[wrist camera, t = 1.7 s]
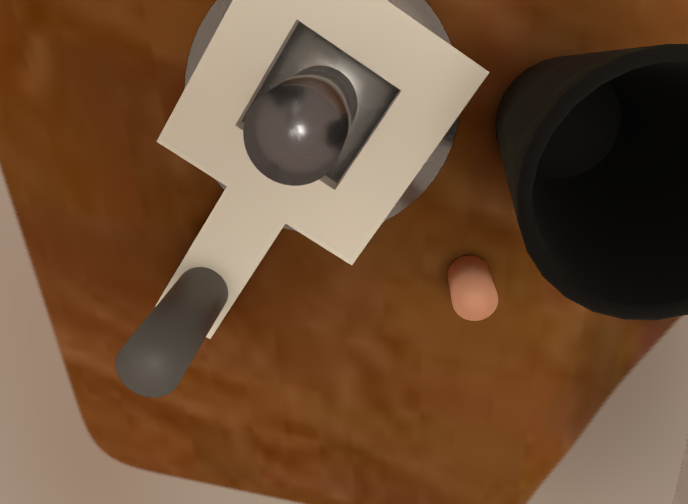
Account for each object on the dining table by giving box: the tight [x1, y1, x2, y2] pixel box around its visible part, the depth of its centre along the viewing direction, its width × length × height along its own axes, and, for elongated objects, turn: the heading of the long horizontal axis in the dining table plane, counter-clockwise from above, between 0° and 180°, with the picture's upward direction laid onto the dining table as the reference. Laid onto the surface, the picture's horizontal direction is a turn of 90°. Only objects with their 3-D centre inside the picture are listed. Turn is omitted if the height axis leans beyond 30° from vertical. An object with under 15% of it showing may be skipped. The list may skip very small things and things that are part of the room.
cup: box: [496, 44, 688, 320], centre depth 23 cm, size 8×8×12 cm
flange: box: [116, 0, 489, 397], centre depth 25 cm, size 17×10×8 cm, turn 147°
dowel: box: [447, 255, 498, 321], centre depth 30 cm, size 2×2×3 cm
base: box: [185, 0, 459, 232], centre depth 25 cm, size 12×12×9 cm
